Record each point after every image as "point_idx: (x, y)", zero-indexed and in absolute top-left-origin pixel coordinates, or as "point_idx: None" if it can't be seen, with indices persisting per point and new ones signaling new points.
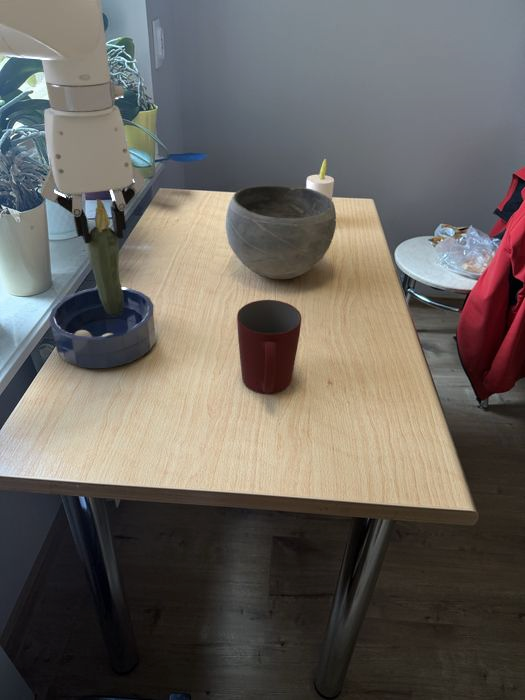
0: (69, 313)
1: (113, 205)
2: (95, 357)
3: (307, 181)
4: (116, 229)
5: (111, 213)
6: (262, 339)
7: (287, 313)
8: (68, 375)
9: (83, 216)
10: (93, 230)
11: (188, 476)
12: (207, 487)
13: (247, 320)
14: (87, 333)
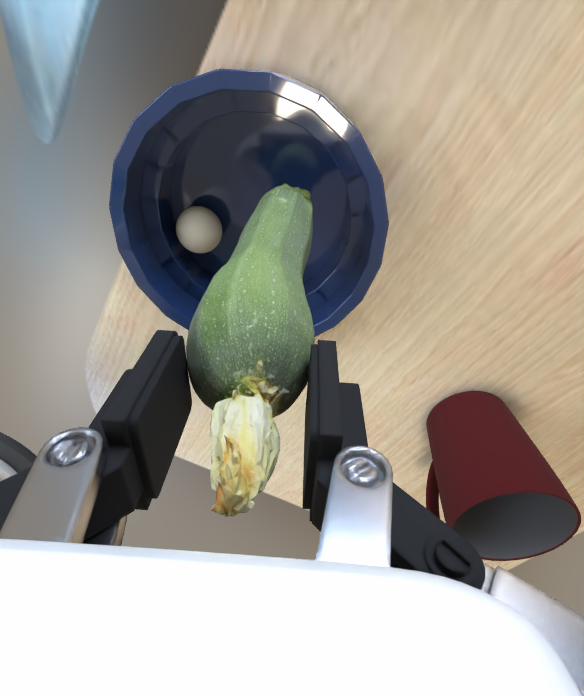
0: (170, 120)
1: (314, 499)
2: None
3: None
4: (305, 426)
5: (310, 404)
6: None
7: (565, 502)
8: None
9: (140, 509)
10: (205, 399)
11: (285, 490)
12: (297, 504)
13: (495, 464)
14: (208, 243)
